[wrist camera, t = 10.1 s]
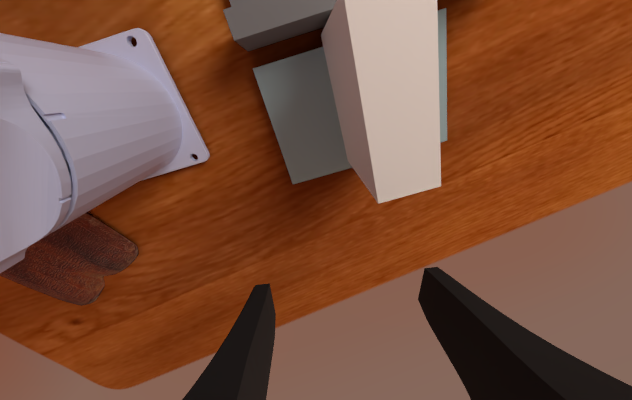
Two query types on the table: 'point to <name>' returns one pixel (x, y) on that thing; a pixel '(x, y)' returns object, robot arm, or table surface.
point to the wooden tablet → (74, 261)
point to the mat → (319, 110)
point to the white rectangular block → (387, 92)
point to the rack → (274, 20)
